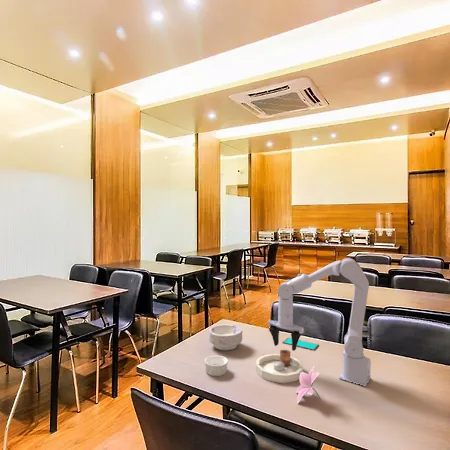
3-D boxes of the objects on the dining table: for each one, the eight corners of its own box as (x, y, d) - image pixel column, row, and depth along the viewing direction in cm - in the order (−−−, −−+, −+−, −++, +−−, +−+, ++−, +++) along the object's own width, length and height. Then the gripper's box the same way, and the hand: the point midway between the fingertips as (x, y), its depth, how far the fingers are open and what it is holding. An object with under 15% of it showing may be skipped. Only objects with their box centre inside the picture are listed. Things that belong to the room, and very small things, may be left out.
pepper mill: (291, 363, 127) (292, 351, 127) (287, 367, 124) (287, 354, 124) (282, 361, 129) (282, 348, 129) (278, 364, 126) (278, 351, 126)
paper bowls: (203, 343, 149) (204, 326, 149) (233, 338, 155) (233, 322, 155) (216, 356, 135) (217, 337, 135) (248, 350, 142) (248, 332, 141)
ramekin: (225, 378, 117) (225, 366, 116) (201, 375, 118) (201, 364, 118) (229, 367, 125) (229, 356, 125) (207, 365, 127) (207, 354, 127)
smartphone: (288, 337, 156) (318, 344, 148) (288, 339, 156) (318, 346, 148) (282, 342, 150) (314, 349, 142) (282, 344, 150) (314, 351, 142)
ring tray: (309, 369, 124) (309, 362, 124) (290, 388, 110) (290, 380, 110) (269, 356, 135) (269, 350, 135) (247, 372, 121) (247, 365, 121)
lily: (302, 387, 113) (290, 364, 112) (334, 383, 107) (322, 359, 106) (295, 415, 103) (282, 391, 102) (330, 413, 97) (316, 387, 96)
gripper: (307, 314, 125) (306, 348, 125) (273, 307, 133) (273, 339, 134) (299, 318, 119) (299, 354, 119) (265, 311, 128) (265, 345, 128)
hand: (285, 347), depth 126 cm, fingers open, 7 cm apart
